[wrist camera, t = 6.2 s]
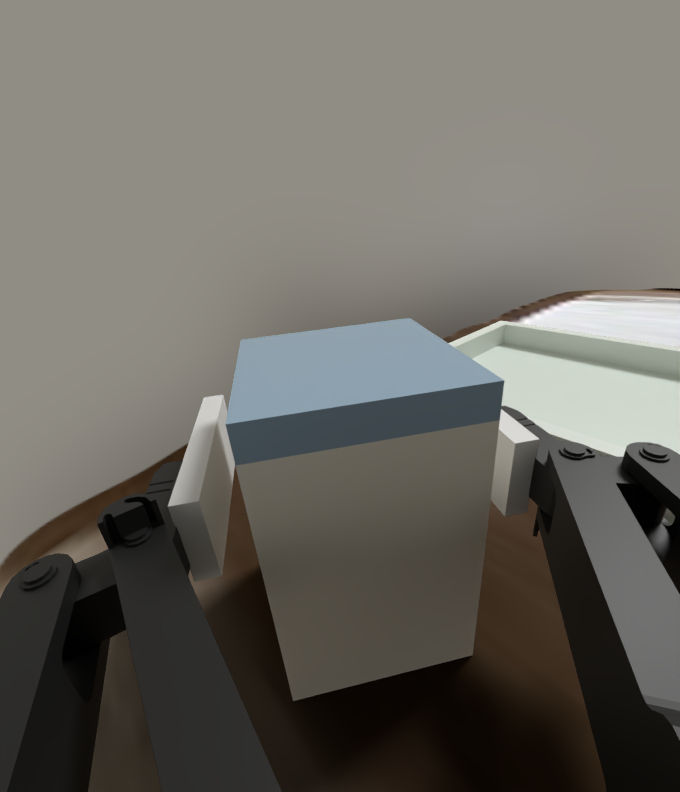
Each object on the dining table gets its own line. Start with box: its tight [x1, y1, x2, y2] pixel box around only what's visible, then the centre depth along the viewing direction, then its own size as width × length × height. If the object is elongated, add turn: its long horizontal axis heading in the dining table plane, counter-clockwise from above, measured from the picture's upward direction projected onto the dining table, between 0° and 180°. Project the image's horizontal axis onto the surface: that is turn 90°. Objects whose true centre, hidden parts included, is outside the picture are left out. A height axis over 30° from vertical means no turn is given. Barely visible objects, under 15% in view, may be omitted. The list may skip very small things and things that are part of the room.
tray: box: [448, 321, 680, 524], centre depth 26 cm, size 18×22×2 cm
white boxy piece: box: [225, 318, 504, 701], centre depth 13 cm, size 6×6×10 cm
